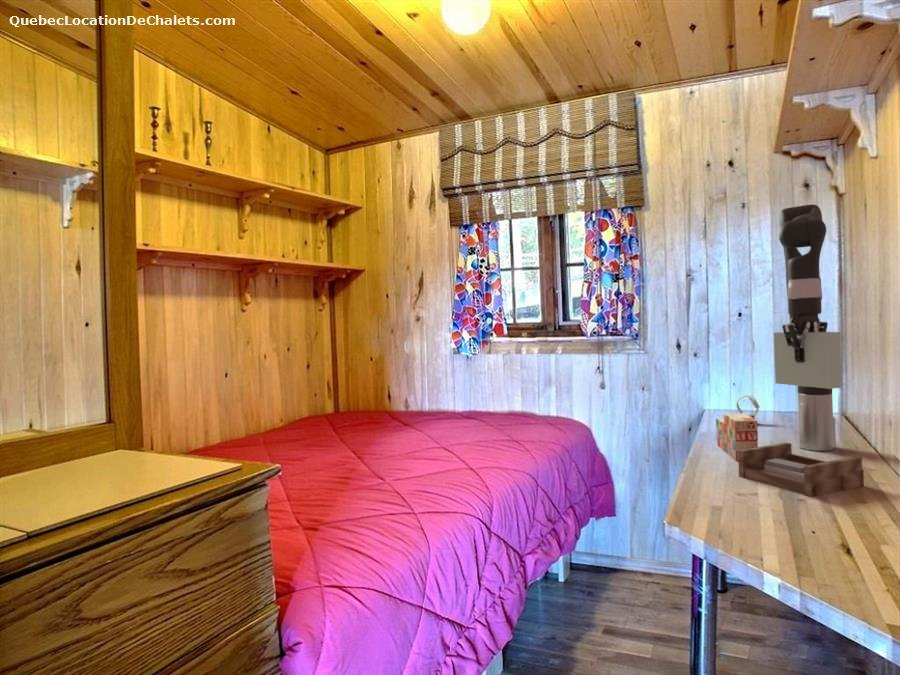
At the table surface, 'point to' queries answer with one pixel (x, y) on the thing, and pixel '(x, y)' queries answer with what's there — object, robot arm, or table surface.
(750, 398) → the watch
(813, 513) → the table surface
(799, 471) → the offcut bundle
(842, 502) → the table surface
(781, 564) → the table surface
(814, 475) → the rack
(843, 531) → the table surface
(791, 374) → the tall sheet
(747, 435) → the stack of blocks
